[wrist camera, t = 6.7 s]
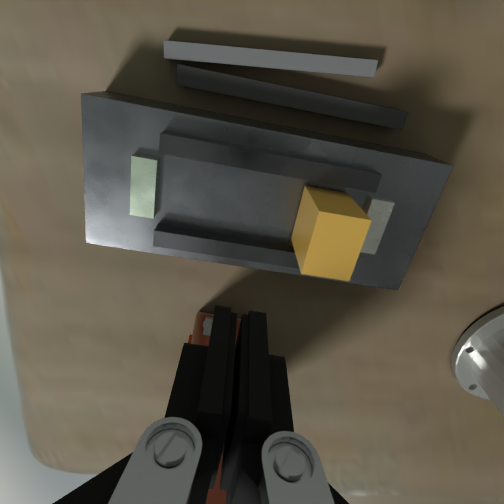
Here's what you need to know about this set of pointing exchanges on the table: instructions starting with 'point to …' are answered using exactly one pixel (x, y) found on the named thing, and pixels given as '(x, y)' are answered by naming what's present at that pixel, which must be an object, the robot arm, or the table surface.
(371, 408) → the table surface
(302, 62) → the grey square bar
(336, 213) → the yellow block
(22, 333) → the table surface
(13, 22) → the table surface
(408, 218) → the slider track
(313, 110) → the dark grey long bar
